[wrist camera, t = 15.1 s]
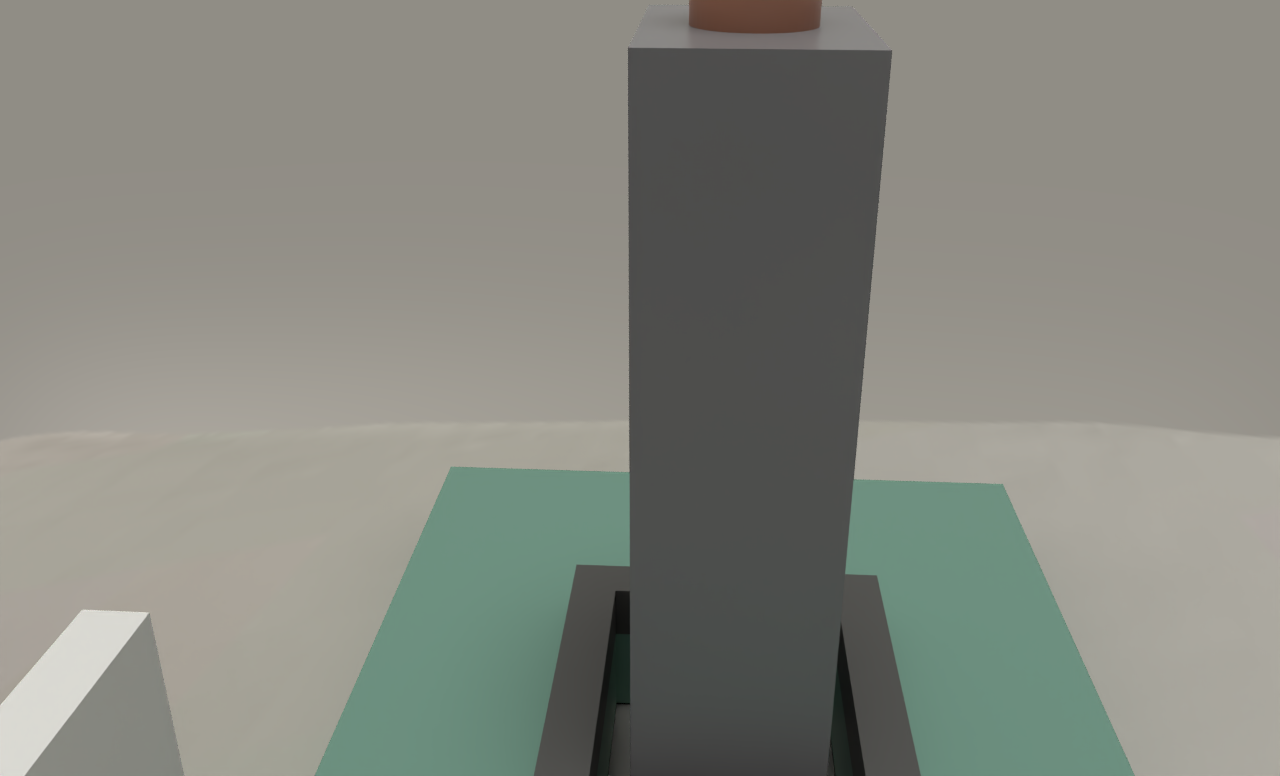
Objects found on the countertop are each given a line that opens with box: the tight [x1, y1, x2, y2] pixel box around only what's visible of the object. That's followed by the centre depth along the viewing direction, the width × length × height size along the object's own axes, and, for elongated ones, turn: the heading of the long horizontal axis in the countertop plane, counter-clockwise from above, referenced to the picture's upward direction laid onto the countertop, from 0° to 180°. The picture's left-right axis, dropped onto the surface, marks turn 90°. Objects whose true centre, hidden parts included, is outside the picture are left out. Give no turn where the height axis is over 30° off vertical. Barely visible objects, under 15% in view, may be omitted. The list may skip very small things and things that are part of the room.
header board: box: [315, 467, 1135, 776], centre depth 24 cm, size 22×16×3 cm
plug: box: [628, 0, 892, 776], centre depth 20 cm, size 5×4×19 cm, turn 176°
